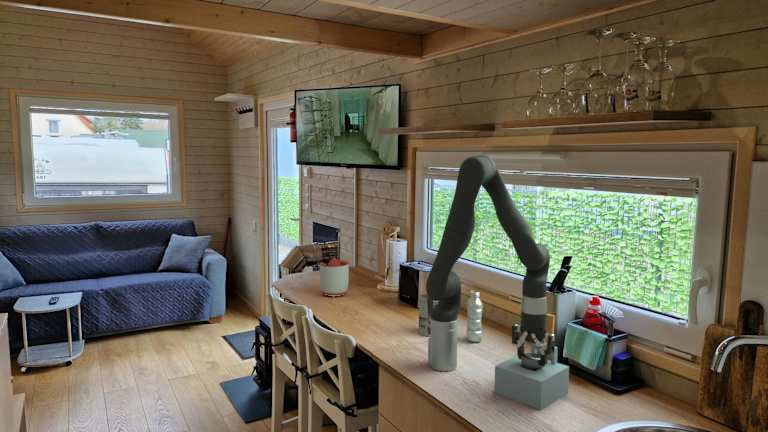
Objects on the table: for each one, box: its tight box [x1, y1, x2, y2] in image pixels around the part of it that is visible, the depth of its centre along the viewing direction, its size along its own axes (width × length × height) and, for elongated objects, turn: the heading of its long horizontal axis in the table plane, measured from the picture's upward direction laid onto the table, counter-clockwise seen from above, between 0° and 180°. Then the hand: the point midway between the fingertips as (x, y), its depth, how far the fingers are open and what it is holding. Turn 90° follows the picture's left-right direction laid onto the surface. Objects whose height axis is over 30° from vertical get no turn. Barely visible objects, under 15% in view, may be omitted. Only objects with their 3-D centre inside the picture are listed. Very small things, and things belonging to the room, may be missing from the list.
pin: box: [521, 352, 543, 371], centre depth 163 cm, size 6×6×11 cm
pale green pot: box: [318, 257, 350, 295], centre depth 278 cm, size 16×17×20 cm
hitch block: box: [493, 342, 570, 411], centre depth 163 cm, size 16×16×14 cm
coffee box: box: [418, 293, 439, 338], centre depth 218 cm, size 9×6×16 cm
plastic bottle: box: [465, 289, 484, 343], centre depth 208 cm, size 6×7×20 cm
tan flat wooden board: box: [536, 313, 556, 350], centre depth 167 cm, size 5×12×2 cm
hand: (532, 362), depth 163 cm, fingers open, 7 cm apart
